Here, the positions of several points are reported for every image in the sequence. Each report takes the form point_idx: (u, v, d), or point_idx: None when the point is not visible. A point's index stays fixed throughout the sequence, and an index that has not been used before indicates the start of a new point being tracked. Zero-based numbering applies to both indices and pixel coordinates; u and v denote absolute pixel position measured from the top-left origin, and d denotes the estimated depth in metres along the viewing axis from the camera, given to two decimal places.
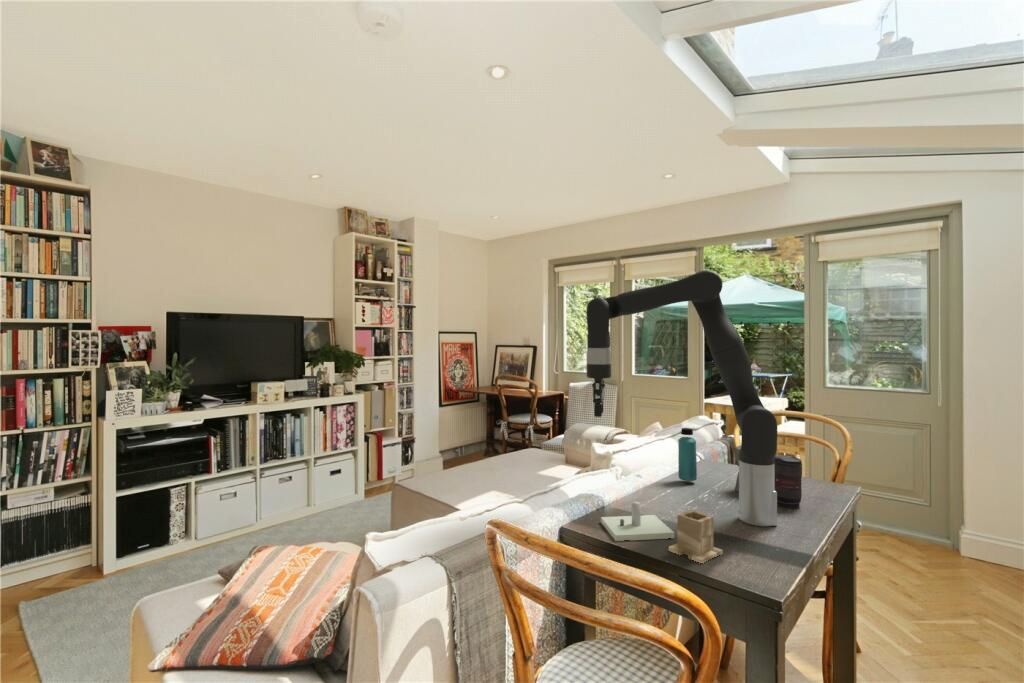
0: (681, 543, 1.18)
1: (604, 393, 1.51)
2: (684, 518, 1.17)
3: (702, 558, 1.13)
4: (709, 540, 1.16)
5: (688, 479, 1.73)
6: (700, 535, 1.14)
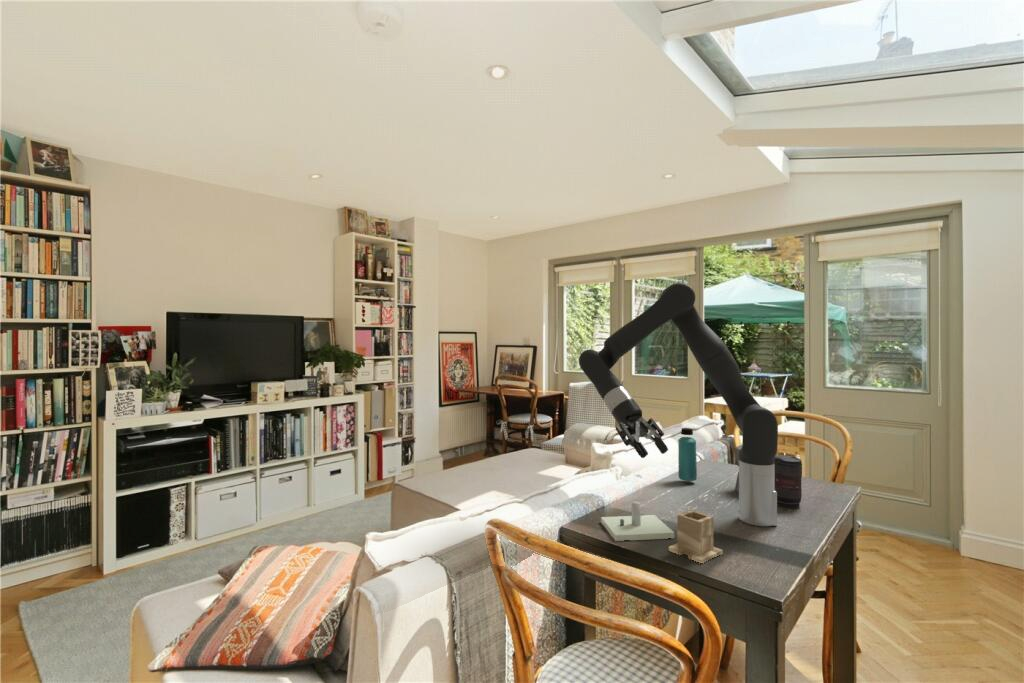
0: (681, 543, 1.18)
1: (651, 430, 1.32)
2: (684, 518, 1.17)
3: (702, 558, 1.13)
4: (709, 540, 1.16)
5: (688, 479, 1.73)
6: (700, 535, 1.14)
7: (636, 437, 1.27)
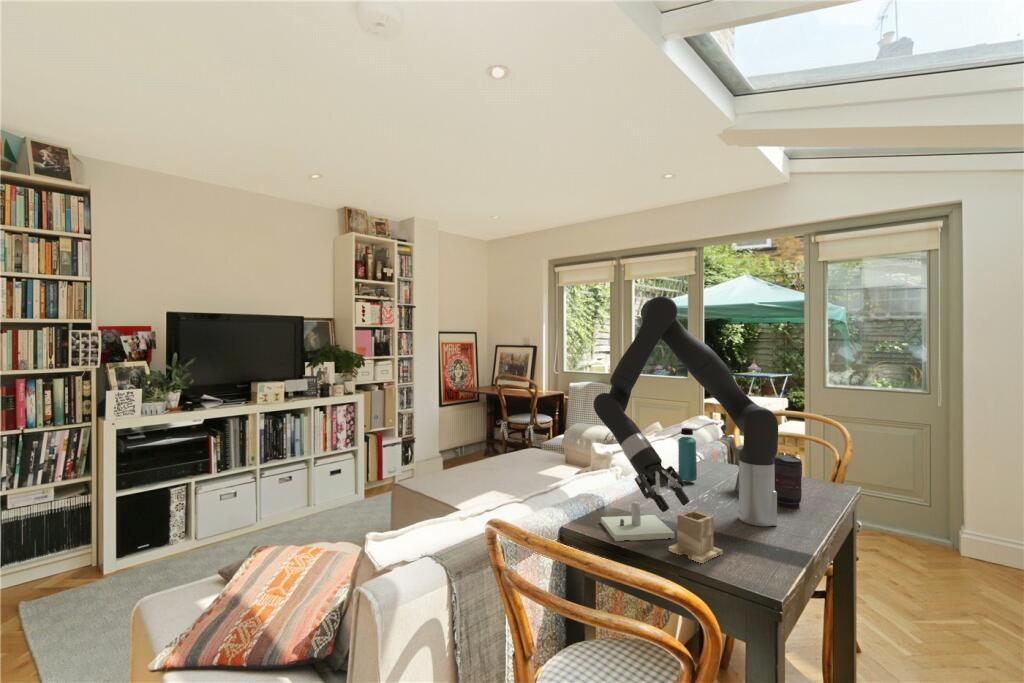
0: (681, 543, 1.18)
1: (671, 480, 1.26)
2: (684, 518, 1.17)
3: (702, 558, 1.13)
4: (709, 540, 1.16)
5: (688, 479, 1.73)
6: (700, 535, 1.14)
7: (656, 489, 1.22)
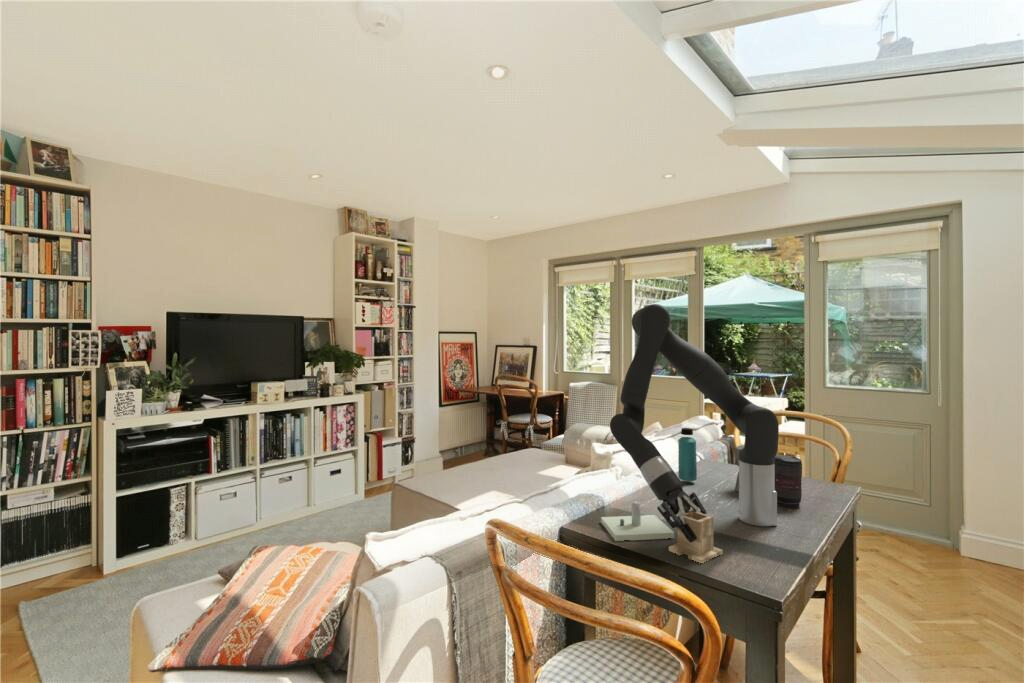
0: (681, 543, 1.18)
1: (693, 507, 1.21)
2: (684, 518, 1.17)
3: (702, 558, 1.13)
4: (709, 540, 1.16)
5: (688, 479, 1.73)
6: (700, 535, 1.14)
7: (682, 518, 1.17)
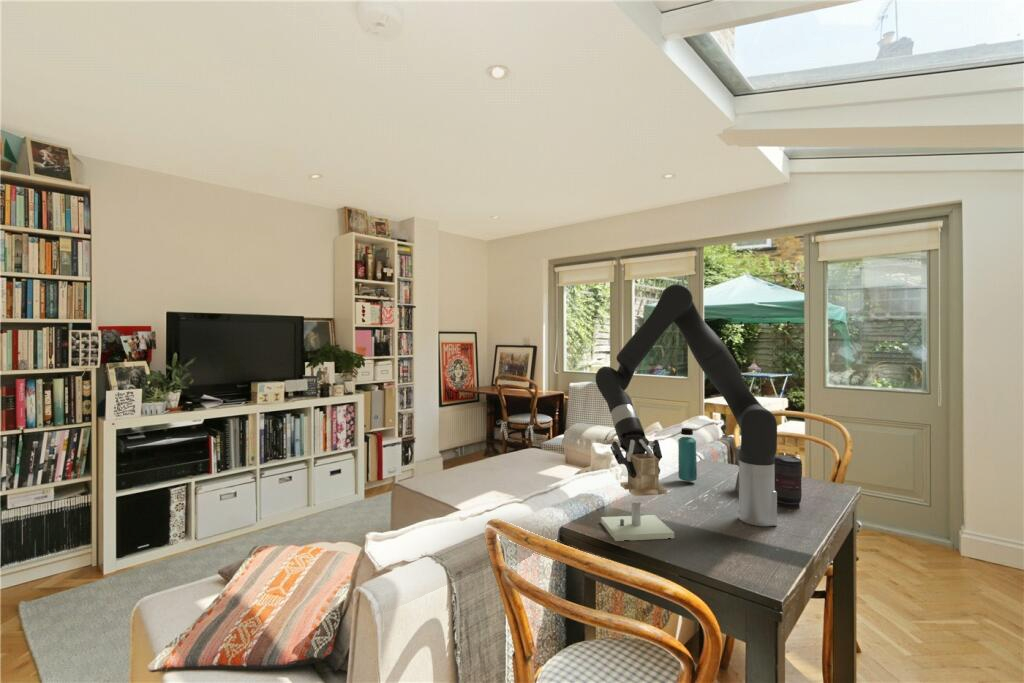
0: (629, 479, 1.31)
1: (646, 450, 1.32)
2: (631, 457, 1.30)
3: (637, 491, 1.25)
4: (652, 479, 1.27)
5: (688, 479, 1.73)
6: (639, 472, 1.26)
7: (628, 457, 1.30)
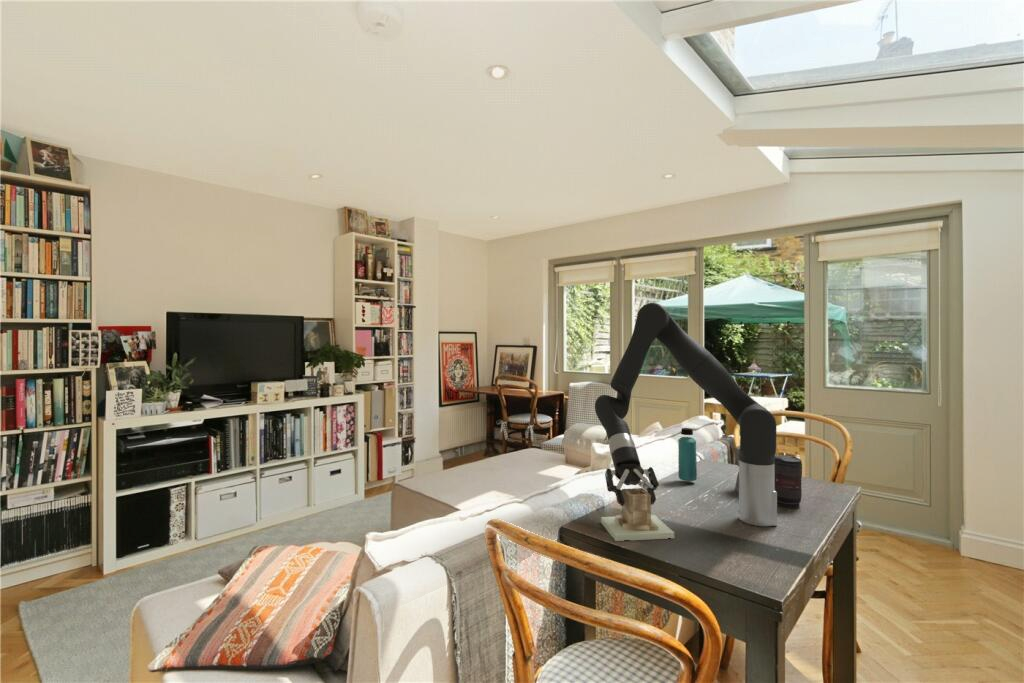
0: (623, 514, 1.34)
1: (642, 479, 1.34)
2: (624, 492, 1.33)
3: (628, 527, 1.28)
4: (644, 515, 1.29)
5: (688, 479, 1.73)
6: (630, 507, 1.29)
7: (618, 485, 1.33)
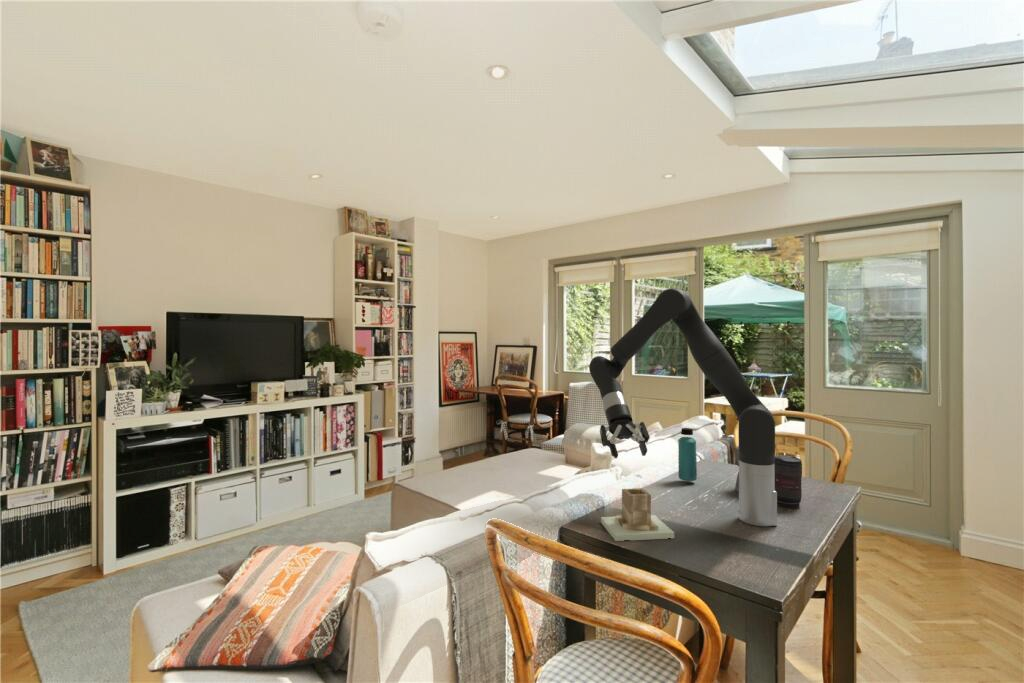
0: (623, 514, 1.34)
1: (634, 433, 1.44)
2: (624, 492, 1.33)
3: (628, 527, 1.28)
4: (644, 515, 1.29)
5: (688, 479, 1.73)
6: (630, 507, 1.29)
7: (612, 439, 1.43)
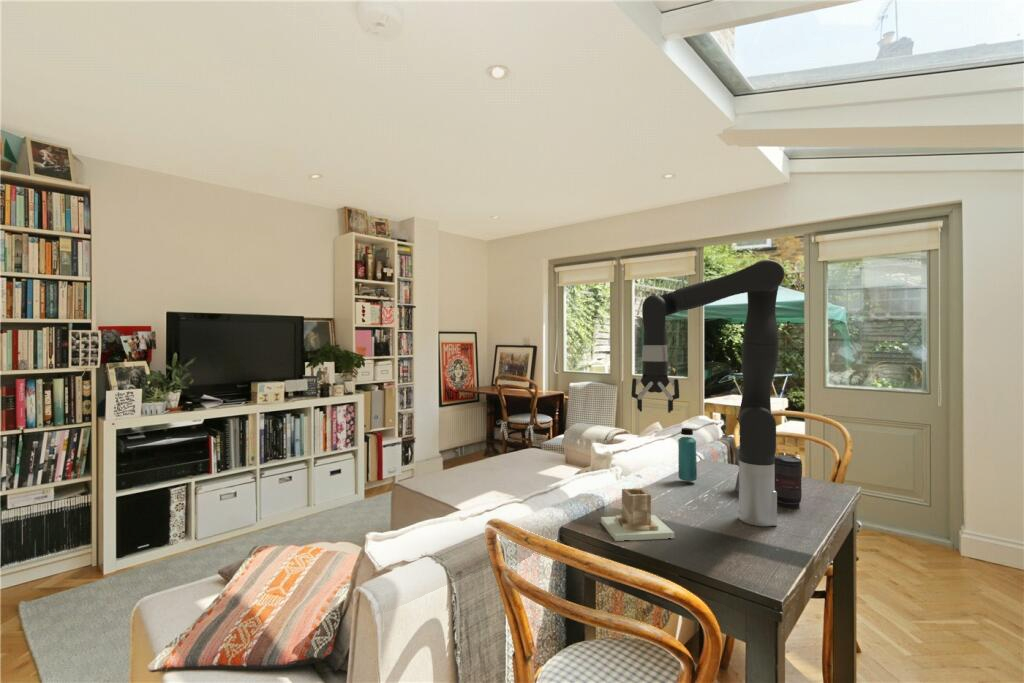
0: (623, 514, 1.34)
1: None
2: (624, 492, 1.33)
3: (628, 527, 1.28)
4: (644, 515, 1.29)
5: (688, 479, 1.73)
6: (630, 507, 1.29)
7: (640, 395, 1.49)
